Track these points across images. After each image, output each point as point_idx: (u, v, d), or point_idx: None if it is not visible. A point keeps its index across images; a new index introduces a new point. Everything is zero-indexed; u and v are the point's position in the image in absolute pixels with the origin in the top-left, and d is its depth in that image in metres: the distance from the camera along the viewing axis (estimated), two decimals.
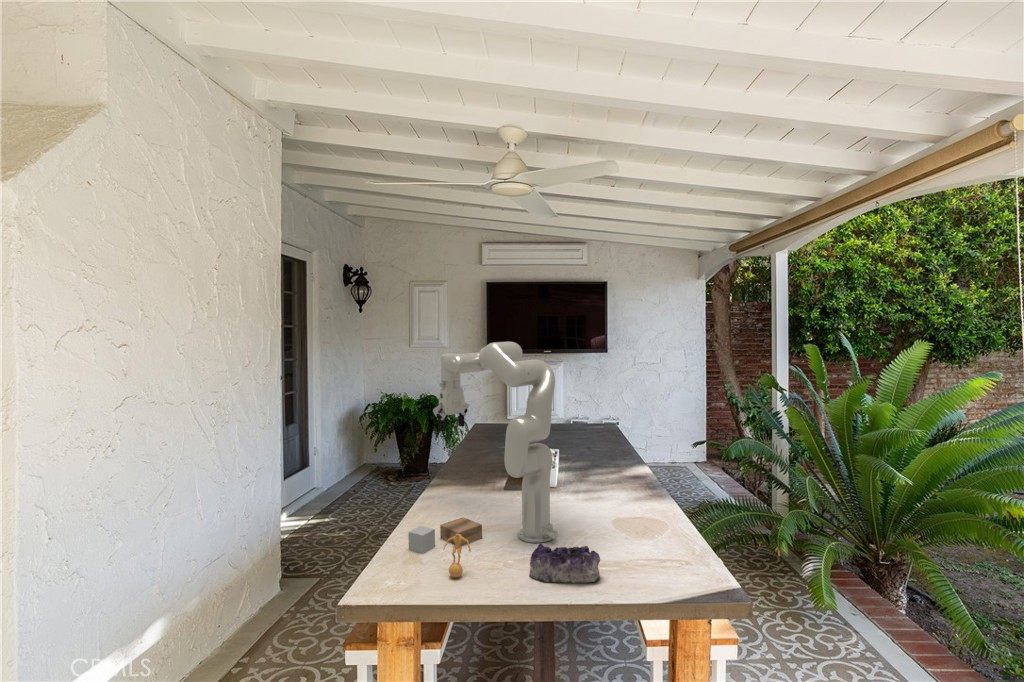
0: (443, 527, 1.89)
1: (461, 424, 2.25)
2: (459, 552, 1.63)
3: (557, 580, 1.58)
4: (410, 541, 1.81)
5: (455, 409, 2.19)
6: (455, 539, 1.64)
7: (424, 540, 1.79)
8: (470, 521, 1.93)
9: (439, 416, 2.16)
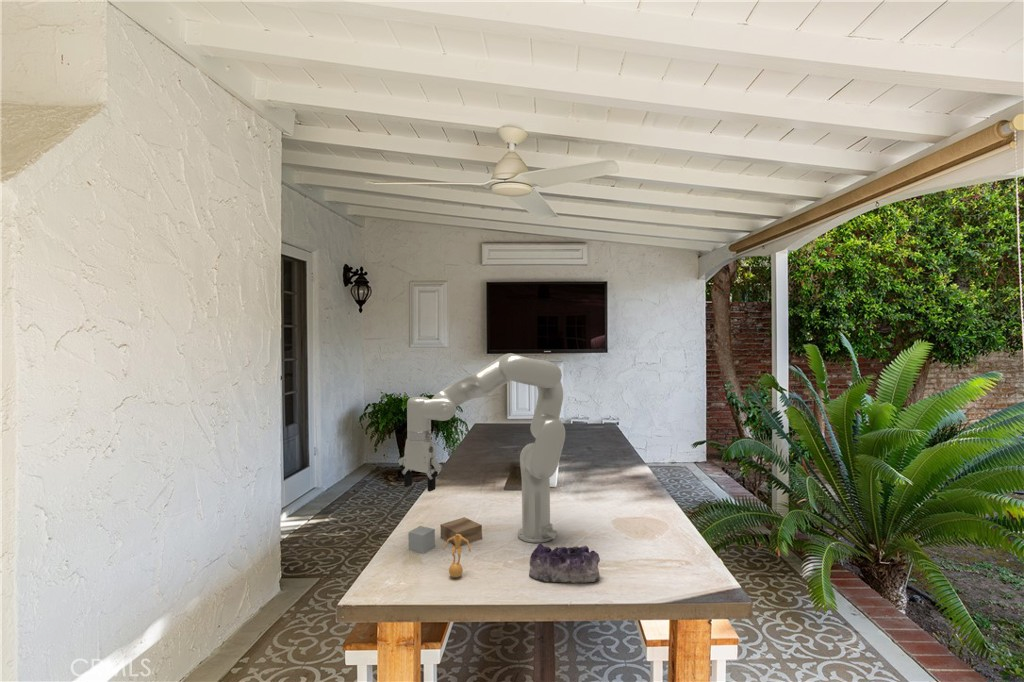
0: (443, 527, 1.90)
1: (410, 483, 1.85)
2: (459, 552, 1.63)
3: (557, 580, 1.58)
4: (410, 541, 1.81)
5: None
6: (455, 539, 1.64)
7: (424, 540, 1.79)
8: (471, 522, 1.93)
9: None
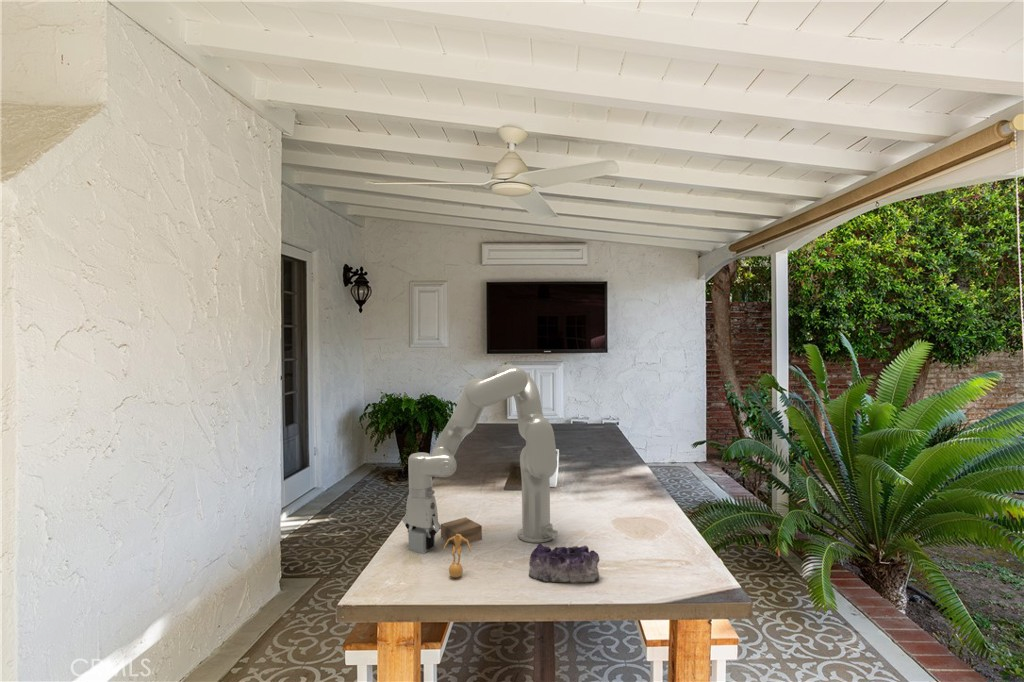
0: (443, 526, 1.90)
1: None
2: (459, 552, 1.63)
3: (556, 580, 1.58)
4: (410, 541, 1.81)
5: None
6: (455, 539, 1.64)
7: (424, 540, 1.79)
8: (471, 522, 1.93)
9: None
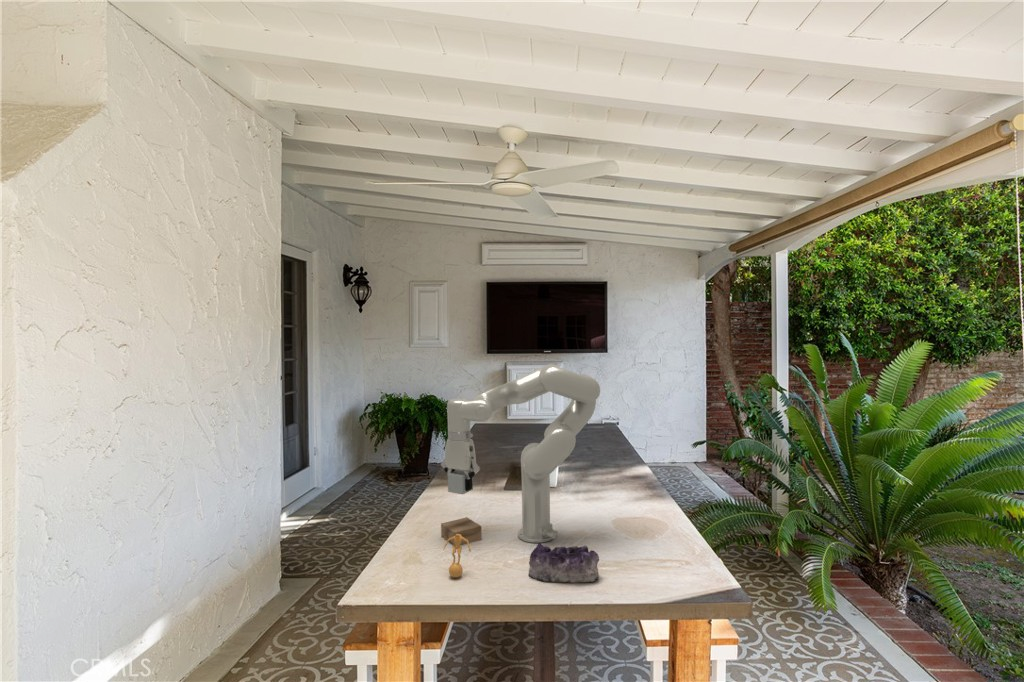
0: (443, 526, 1.90)
1: None
2: (459, 552, 1.63)
3: (556, 579, 1.58)
4: (449, 483, 1.88)
5: None
6: (455, 539, 1.64)
7: (463, 481, 1.86)
8: (471, 522, 1.92)
9: None
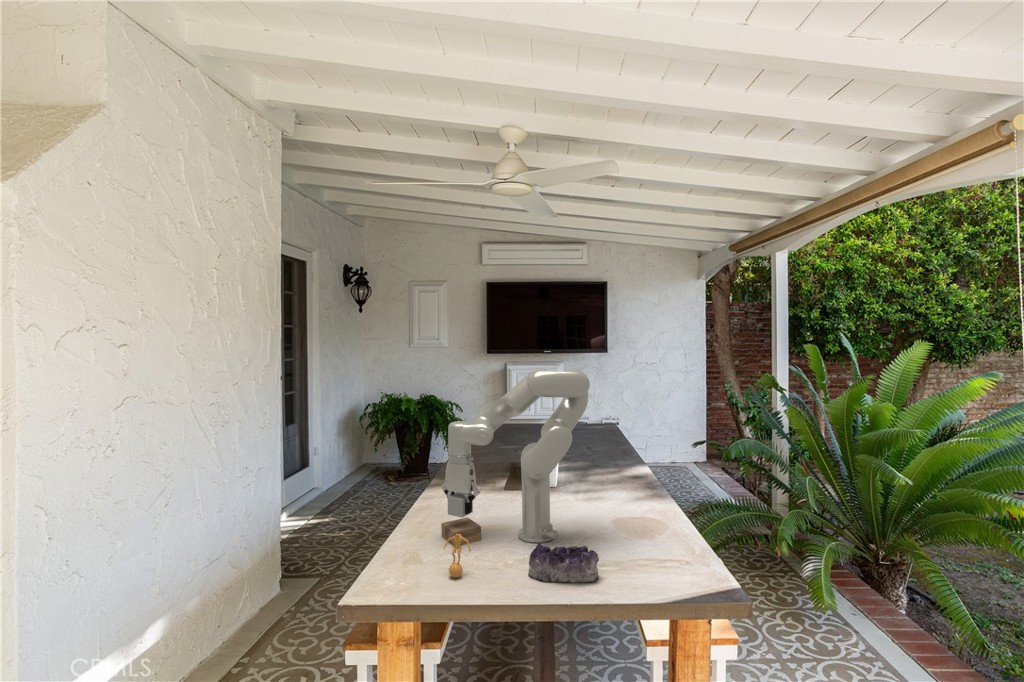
0: (443, 526, 1.91)
1: None
2: (459, 552, 1.63)
3: (556, 580, 1.58)
4: (449, 505, 1.89)
5: None
6: (455, 539, 1.64)
7: (463, 504, 1.87)
8: (471, 522, 1.92)
9: None
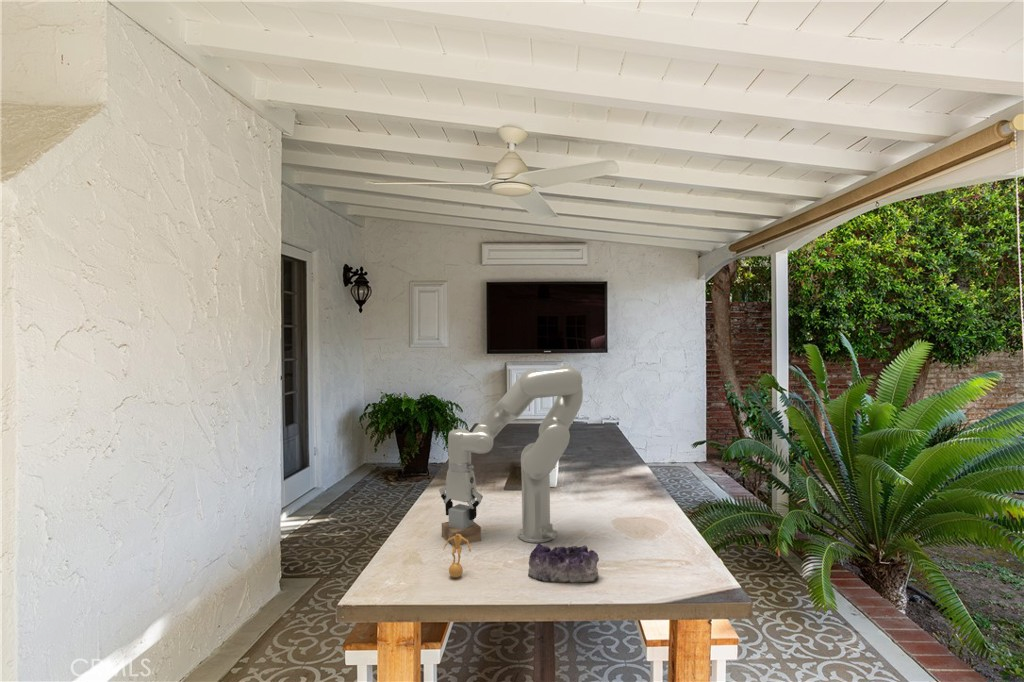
0: (443, 526, 1.91)
1: None
2: (459, 552, 1.63)
3: (556, 579, 1.59)
4: (450, 518, 1.88)
5: None
6: (455, 539, 1.64)
7: (464, 516, 1.86)
8: None
9: None
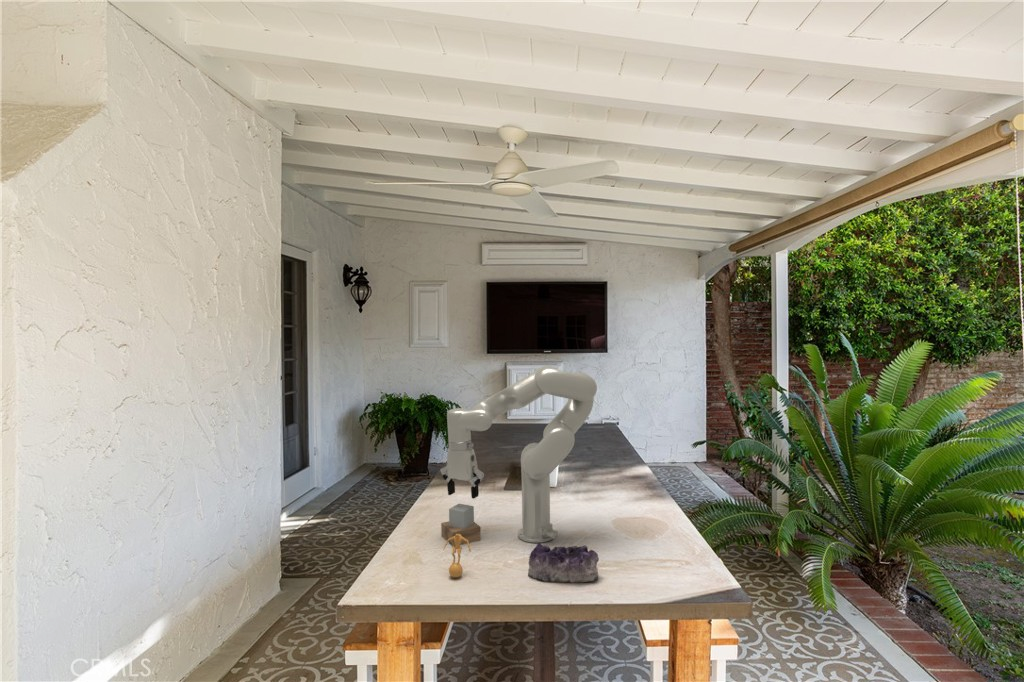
0: (443, 525, 1.91)
1: (453, 491, 1.93)
2: (459, 552, 1.63)
3: (556, 579, 1.59)
4: (451, 517, 1.89)
5: None
6: (455, 539, 1.64)
7: (465, 516, 1.87)
8: None
9: None
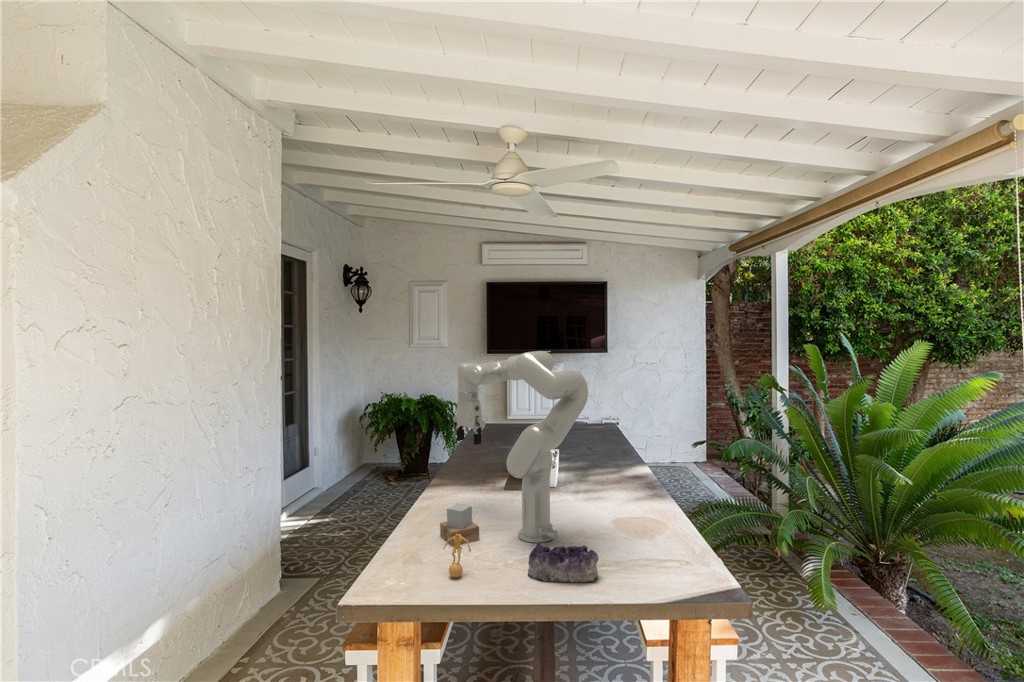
0: (442, 525, 1.91)
1: (462, 438, 2.13)
2: (459, 552, 1.63)
3: (555, 579, 1.59)
4: (449, 517, 1.89)
5: None
6: (455, 539, 1.64)
7: (463, 516, 1.87)
8: None
9: None
